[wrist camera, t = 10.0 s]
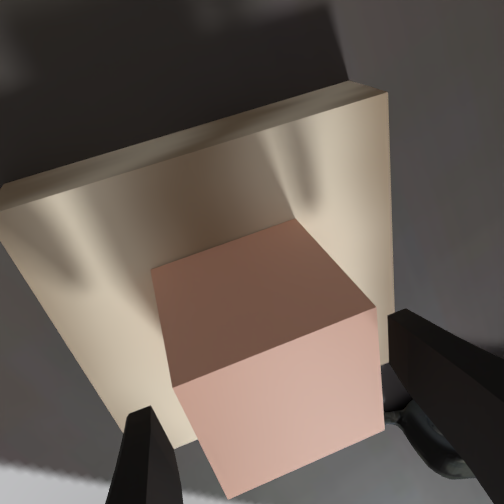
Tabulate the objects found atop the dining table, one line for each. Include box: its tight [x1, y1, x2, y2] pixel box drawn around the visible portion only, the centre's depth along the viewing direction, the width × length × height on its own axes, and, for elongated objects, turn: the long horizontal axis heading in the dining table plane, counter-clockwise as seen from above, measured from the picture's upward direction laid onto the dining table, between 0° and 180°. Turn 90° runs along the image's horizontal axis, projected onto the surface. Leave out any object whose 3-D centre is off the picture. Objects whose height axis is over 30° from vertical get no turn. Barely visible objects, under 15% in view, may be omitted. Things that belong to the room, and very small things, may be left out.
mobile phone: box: [384, 399, 476, 479], centre depth 26 cm, size 5×3×15 cm
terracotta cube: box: [150, 218, 385, 499], centre depth 13 cm, size 5×5×5 cm
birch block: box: [0, 81, 395, 449], centre depth 17 cm, size 12×12×3 cm
